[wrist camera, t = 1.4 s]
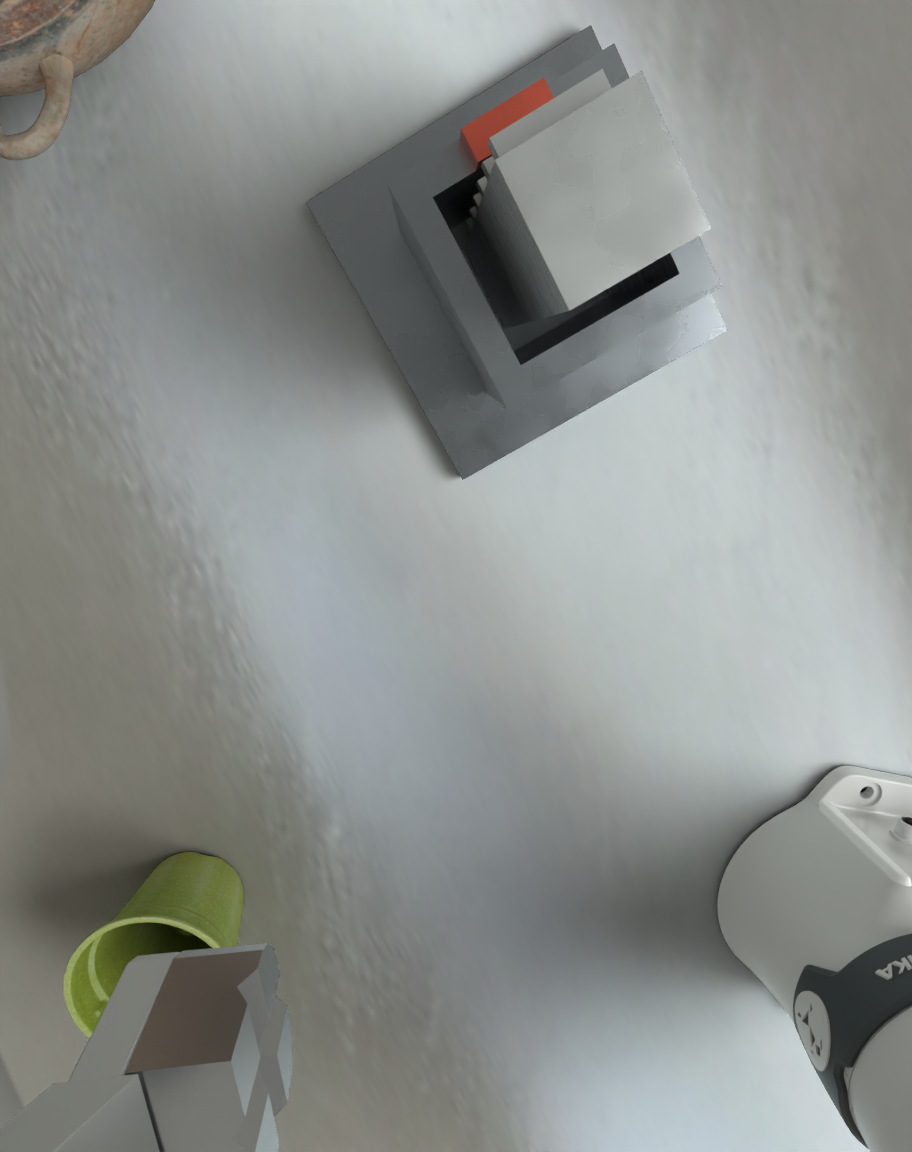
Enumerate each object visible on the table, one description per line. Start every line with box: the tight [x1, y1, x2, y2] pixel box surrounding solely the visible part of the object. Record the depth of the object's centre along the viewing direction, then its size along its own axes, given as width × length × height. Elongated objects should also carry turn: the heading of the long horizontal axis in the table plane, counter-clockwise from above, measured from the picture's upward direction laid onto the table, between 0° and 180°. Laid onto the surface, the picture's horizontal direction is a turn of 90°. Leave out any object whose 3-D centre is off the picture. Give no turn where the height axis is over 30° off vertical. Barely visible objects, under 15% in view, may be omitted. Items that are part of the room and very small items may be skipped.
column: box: [464, 68, 711, 329], centre depth 31 cm, size 4×5×20 cm
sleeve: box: [306, 25, 727, 480], centre depth 35 cm, size 16×16×14 cm
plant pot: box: [63, 852, 244, 1039], centre depth 48 cm, size 9×9×9 cm
